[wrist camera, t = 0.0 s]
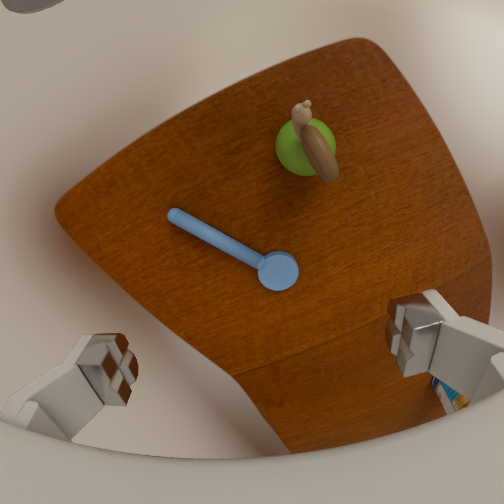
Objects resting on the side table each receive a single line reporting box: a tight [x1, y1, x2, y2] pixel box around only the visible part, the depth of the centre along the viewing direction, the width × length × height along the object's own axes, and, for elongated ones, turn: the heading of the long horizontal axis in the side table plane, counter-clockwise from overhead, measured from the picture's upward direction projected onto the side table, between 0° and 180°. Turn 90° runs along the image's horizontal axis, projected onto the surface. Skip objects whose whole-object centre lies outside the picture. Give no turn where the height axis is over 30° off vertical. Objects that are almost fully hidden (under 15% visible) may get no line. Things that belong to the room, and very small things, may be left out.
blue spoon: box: [167, 208, 299, 291], centre depth 32 cm, size 16×4×2 cm, turn 59°
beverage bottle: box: [432, 376, 470, 415], centre depth 32 cm, size 8×8×20 cm
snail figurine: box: [275, 100, 339, 183], centre depth 22 cm, size 5×6×12 cm
